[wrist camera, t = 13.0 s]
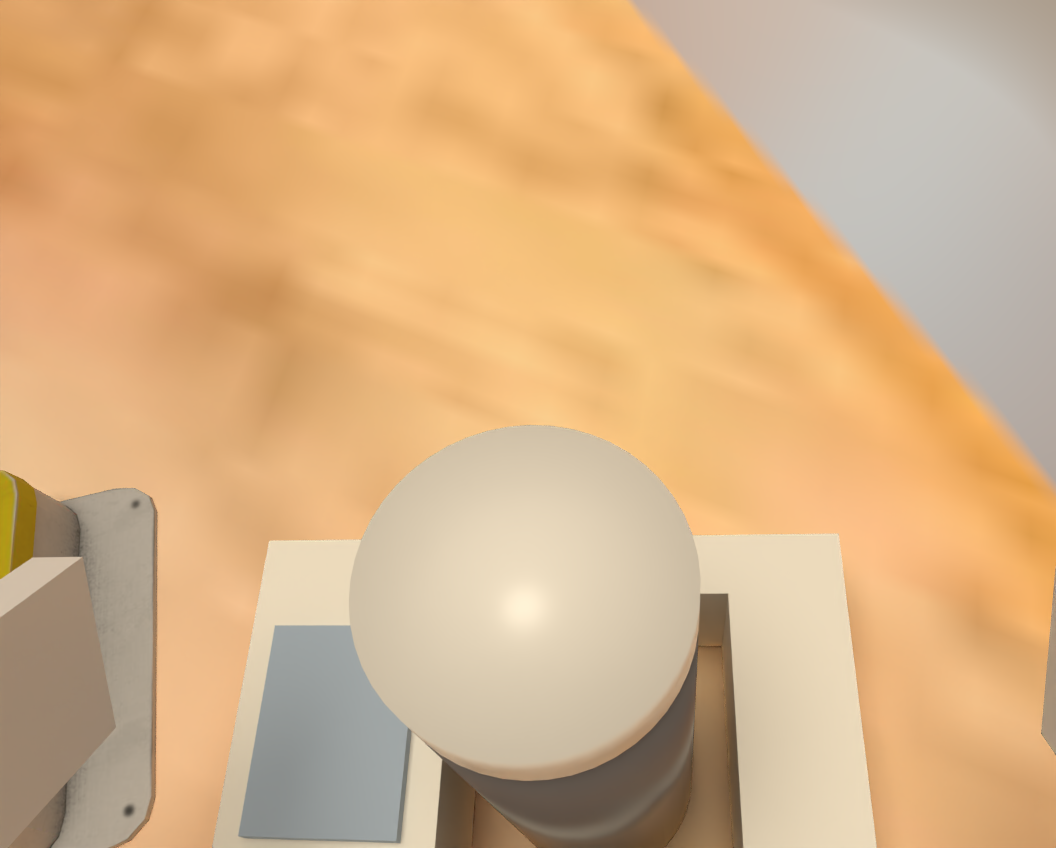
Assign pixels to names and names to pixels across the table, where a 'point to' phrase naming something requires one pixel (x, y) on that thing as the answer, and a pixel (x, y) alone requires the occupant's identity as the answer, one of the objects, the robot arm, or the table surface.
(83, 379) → the table surface
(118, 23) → the table surface
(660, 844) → the capped grey bottle
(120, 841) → the emergency button
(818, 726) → the socket block
